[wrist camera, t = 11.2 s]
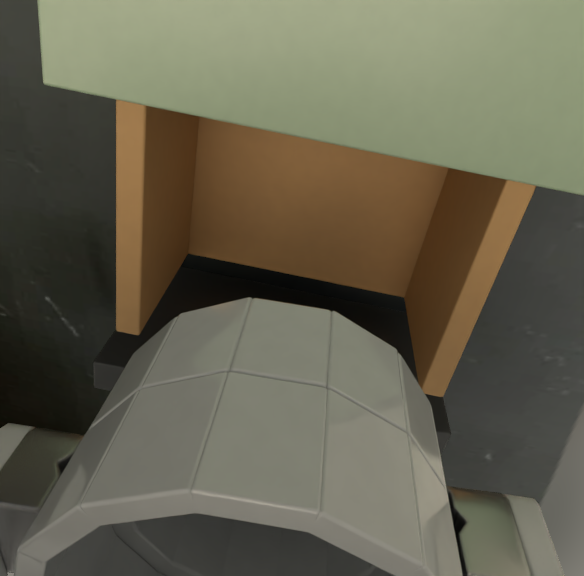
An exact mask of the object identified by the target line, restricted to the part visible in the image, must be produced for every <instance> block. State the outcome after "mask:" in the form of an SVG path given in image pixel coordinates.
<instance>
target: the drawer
mask: <svg viewBox="0 0 584 576" xmlns="http://www.w3.org/2000/svg"><path fill="white" fill-rule="evenodd" d="M535 188H536V186H534V185H529V184H525V183H520V182H515V181H510V180H505V179H500V178H495V177H491V176H486V175H481V174H476V173H471V172H466V171H461V170H456V169H452V168H447V167H442V166H437V165H432V164H427V163H422V162H418V161H413V160H408V159H403V158H398V157H393V156H388V155H383V154H379V153H374V152H369V151H364V150H359V149H354V148H349V147H345V146H340V145H335V144H330V143H325V142H320V141H315V140H311V139H306V138H301V137H296V136H291V135H286V134H281V133H276V132H272V131H267V130H262V129H257V128H252V127H247V126H242V125H238V124H233V123H228V122H223V121H218V120H213V119H208V118H203V117H199V116H194V115H189V114H184V113H179V112H174V111H169V110H165V109H160V108H155V107H150V106H145V105H140V104H135V103H130V102H126V101H121V100H116V330H115V331H114V332H113V334H112V335H111V337H110V338H109V340H108V341H107V343H106V344H105V346H104V347H103V349H102V350H101V352H100V353H99V355H98V356H97V358H96V359H95V360H94V387H95V388H100V389H105V390H110V391H111V390H112V388H113V387H114V385H115V383H116V381H117V380H118V378H119V376H120V375H121V373H122V371H123V370H124V368H125V366H126V365H127V363H128V361H129V359H130V358H131V357H132V355H133V353H134V352H136V351H137V350H138V349H139V348H140V347H141V346H143V345H144V344H145V343H146V342H147V341H148V340H149V339H151V338H152V337H153V336H154V335H155V334H156V333H157V332H159V331H160V330H161V329H162V328H163V327H164V326H165V325H167V324H168V323H169V322H170V321H171V320H172V319H174V318H175V317H177V316H179V315H180V314H181V313H184V312H189V311H193V310H197V309H201V308H205V307H210V306H214V305H218V304H222V303H226V302H231V301H235V300H239V299H243V298H248V297H251V298H252V299H253V298H260V299H266V300H272V301H279V302H285V303H291V304H297V305H303V306H309V307H316V308H322V309H328V310H330V311H331V312H332V311H336V312H337V313H339V314H341V315H342V316H344V317H346V318H347V319H349V320H350V321H352V322H354V323H355V324H357V325H359V326H360V327H362V328H363V329H365V330H367V331H368V332H370V333H372V334H373V335H375V336H376V337H378V338H380V339H381V340H383V341H385V342H386V343H388V344H390V345H391V346H393V347H394V348H396V349H397V352H398V353H399V354H400V355H401V356H402V358H403V359H404V361H405V362H406V364H407V366H408V367H409V369H410V371H411V372H412V374H413V376H414V377H415V379H416V380H417V382H418V384H419V385H420V387H421V389H422V390H423V392H424V394H425V395H426V397H427V398H428V400H429V402H430V405H431V406H432V411H433V416H434V422H435V427H436V433H437V438H438V443H439V449H440V454H442V452H443V450H444V448H445V446H446V444H447V442H448V440H449V438H450V436H451V432H450V427H449V423H448V418H447V414H446V409H445V405H444V400H443V396H444V393H445V391H446V389H447V387H448V384H449V382H450V380H451V378H452V375H453V373H454V371H455V369H456V366H457V364H458V362H459V360H460V357H461V355H462V353H463V351H464V348H465V346H466V344H467V342H468V339H469V337H470V335H471V332H472V330H473V328H474V326H475V323H476V321H477V319H478V317H479V314H480V312H481V310H482V308H483V305H484V303H485V301H486V299H487V296H488V294H489V292H490V290H491V287H492V285H493V283H494V281H495V278H496V276H497V274H498V272H499V269H500V267H501V265H502V263H503V260H504V258H505V256H506V253H507V251H508V249H509V247H510V244H511V242H512V240H513V238H514V235H515V233H516V231H517V229H518V226H519V224H520V222H521V220H522V217H523V215H524V213H525V211H526V208H527V206H528V204H529V202H530V199H531V197H532V195H533V193H534V190H535ZM188 254H193V255H198V256H203V257H208V258H213V259H218V260H222V261H227V262H232V263H237V264H242V265H247V266H252V267H257V268H262V269H267V270H271V271H276V272H281V273H286V274H291V275H296V276H301V277H306V278H311V279H316V280H321V281H325V282H330V283H335V284H340V285H345V286H350V287H355V288H360V289H365V290H370V291H375V292H379V293H384V294H389V295H394V296H399V297H404V299H405V305H406V311H407V312H402V311H397V310H392V309H387V308H382V307H377V306H372V305H367V304H362V303H357V302H353V301H348V300H343V299H338V298H333V297H328V296H323V295H318V294H313V293H308V292H303V291H299V290H294V289H289V288H284V287H279V286H274V285H269V284H264V283H259V282H254V281H249V280H245V279H240V278H235V277H230V276H225V275H220V274H215V273H210V272H205V271H200V270H195V269H191V268H186V267H181V265H182V263H183V261H184V260H185V258H186V256H187V255H188Z"/></svg>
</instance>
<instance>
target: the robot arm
mask: <svg viewBox="0 0 584 576" xmlns="http://www.w3.org/2000/svg"><path fill="white" fill-rule="evenodd" d="M83 437H84V435H79V434H73V433H67V432H61V431H55V430H49V429H43V428H38V427H31V426H24V425H18V424H11V423H8V424H6V425H5V426H3V427H2V428H0V576H7V575H8V574H7V572H9V573H14V570H15V562H16V555H17V549H18V547H19V545H20V544H21V542H22V540H23V539H24V537H25V535H26V533H27V532H28V530H29V528H30V527H31V525H32V523H33V522H34V520H35V518H36V517H37V515H38V513H39V511H40V510H41V508H42V506H43V505H44V503H45V501H46V500H47V498H48V496H49V495H50V493H51V491H52V489H53V488H54V486H55V484H56V483H57V481H58V479H59V478H60V476H61V474H62V473H63V471H64V469H65V467H66V466H67V464H68V462H69V461H70V459H71V457H72V456H73V454H74V452H75V451H76V449H77V447H78V445H79V444H80V442H81V440H82V439H83ZM446 487H447V494H448V497H449V503H450V508H451V514H452V519H453V524H454V530H455V535H456V541H457V546H458V551H459V557H460V562H461V568H462V573H463V576H565V575H564V573H563V570H562V567H561V564H560V562H559V559H558V556H557V553H556V551H555V548H554V545H553V542H552V540H551V537H550V534H549V531H548V529H547V526H546V523H545V521H544V518H543V515H542V512H541V509H540V507H539V504H538V503H537V502H536V500H535V499H534V498H528V497H521V496H514V495H507V494H501V493H496V492H488V491H481V490H473V489H465V488H457V487H450V486H446Z"/></svg>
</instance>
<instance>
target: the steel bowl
mask: <svg viewBox="0 0 584 576" xmlns="http://www.w3.org/2000/svg"><path fill="white" fill-rule="evenodd" d="M14 576H463V573H462V568H461V562H460V557H459V551H458V546H457V541H456V535H455V530H454V524H453V519H452V514H451V508H450V503H449V497H448V494H447V487H446V481H445V476H444V470H443V465H442V460H441V454H440V449H439V443H438V438H437V433H436V427H435V422H434V416H433V411H432V406H431V405H430V402H429V400H428V398H427V397H426V395H425V394H424V392H423V390H422V389H421V387H420V385H419V384H418V382H417V380H416V379H415V377H414V376H413V374H412V372H411V371H410V369H409V367H408V366H407V364H406V362H405V361H404V359H403V358H402V356H401V355H400V354H399V353H398V352H397V349H396V348H394V347H393V346H391V345H390V344H388V343H386V342H385V341H383V340H381V339H380V338H378V337H376V336H375V335H373V334H372V333H370V332H368V331H367V330H365V329H363V328H362V327H360V326H359V325H357V324H355V323H354V322H352V321H350V320H349V319H347V318H346V317H344V316H342V315H341V314H339V313H337V312H336V311H332V312H331V311H330V310H328V309H322V308H316V307H309V306H303V305H297V304H291V303H285V302H279V301H272V300H266V299H260V298H253V299H252V298H251V297H248V298H243V299H239V300H235V301H231V302H226V303H222V304H218V305H214V306H210V307H205V308H201V309H197V310H193V311H189V312H184V313H181V314H180V315H179V316H177V317H175V318H174V319H172V320H171V321H170V322H169V323H168V324H167V325H165V326H164V327H163V328H162V329H161V330H160V331H159V332H157V333H156V334H155V335H154V336H153V337H152V338H151V339H149V340H148V341H147V342H146V343H145V344H144V345H143V346H141V347H140V348H139V349H138V350H137V351H136V352H134V353H133V355H132V357H131V358H130V359H129V361H128V363H127V365H126V366H125V368H124V370H123V371H122V373H121V375H120V376H119V378H118V380H117V381H116V383H115V385H114V387H113V388H112V390H111V392H110V393H109V395H108V397H107V398H106V400H105V402H104V404H103V405H102V407H101V409H100V410H99V412H98V414H97V415H96V417H95V419H94V420H93V422H92V424H91V426H90V427H89V429H88V431H87V432H86V434H85V435H84V437H83V439H82V440H81V442H80V444H79V445H78V447H77V449H76V451H75V452H74V454H73V456H72V457H71V459H70V461H69V462H68V464H67V466H66V467H65V469H64V471H63V473H62V474H61V476H60V478H59V479H58V481H57V483H56V484H55V486H54V488H53V489H52V491H51V493H50V495H49V496H48V498H47V500H46V501H45V503H44V505H43V506H42V508H41V510H40V511H39V513H38V515H37V517H36V518H35V520H34V522H33V523H32V525H31V527H30V528H29V530H28V532H27V533H26V535H25V537H24V539H23V540H22V542H21V544H20V545H19V547H18V549H17V555H16V562H15V570H14Z"/></svg>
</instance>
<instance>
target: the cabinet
mask: <svg viewBox="0 0 584 576" xmlns="http://www.w3.org/2000/svg"><path fill="white" fill-rule="evenodd" d="M37 1H38V15H39V29H40V44H41V58H42V72H43V82H44V84H45V85H48V86H53V87H57V88H62V89H67V90H72V91H77V92H82V93H87V94H92V95H96V96H101V97H106V98H111V99H116V100H121V101H126V102H130V103H135V104H140V105H145V106H150V107H155V108H160V109H165V110H169V111H174V112H179V113H184V114H189V115H194V116H199V117H203V118H208V119H213V120H218V121H223V122H228V123H233V124H238V125H242V126H247V127H252V128H257V129H262V130H267V131H272V132H276V133H281V134H286V135H291V136H296V137H301V138H306V139H311V140H315V141H320V142H325V143H330V144H335V145H340V146H345V147H349V148H354V149H359V150H364V151H369V152H374V153H379V154H383V155H388V156H393V157H398V158H403V159H408V160H413V161H418V162H422V163H427V164H432V165H437V166H442V167H447V168H452V169H456V170H461V171H466V172H471V173H476V174H481V175H486V176H491V177H495V178H500V179H505V180H510V181H515V182H520V183H525V184H529V185H534V186H539V187H544V188H549V189H554V190H559V191H564V192H568V193H573V194H578V195H583V196H584V0H37Z"/></svg>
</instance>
